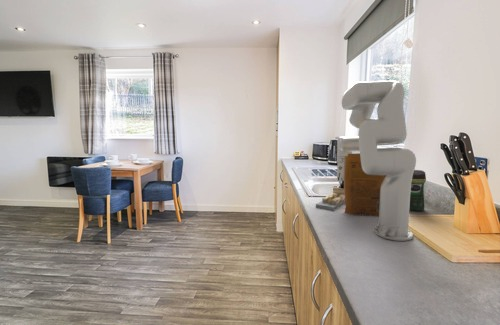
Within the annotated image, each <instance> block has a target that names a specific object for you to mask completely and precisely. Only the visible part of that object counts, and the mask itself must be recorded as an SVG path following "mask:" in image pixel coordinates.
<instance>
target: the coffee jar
mask: <svg viewBox="0 0 500 325" xmlns="http://www.w3.org/2000/svg"><path fill="white" fill-rule="evenodd" d="M426 176H427V175H426V171H424V170H421V169H414V172H413V176H412V182H411V193H410V207H409V211H410V212H411V211H413V212H422V211H424V210H425V193H424V190H425V189H424V187H425V184H426V181H427V178H426Z"/></svg>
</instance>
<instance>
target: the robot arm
mask: <svg viewBox="0 0 500 325" xmlns="http://www.w3.org/2000/svg"><path fill="white" fill-rule="evenodd" d="M404 98H405V88H404V85H403V84H402V82H400V81H398V80H377V81H376V80H375V81H371V80H370V81H357V82H355V83H354V84H353V85H351V86H350V87H349V88H348V89H347V90H345V92H344V93H343V95H342V98H341V107H342V109H343V110H346V111H351V113H350V115H349V116H350V117H349V118H348V119H349V120H348V121H349V123H350V124H351V125H352V126H353V127H355V129H356V128H357V129H358V134H357V135H358V136H339V137H338V138H337V143H336V144H337V145H336V149H337V150H336V152H337V153H336V163H337V166H336V180H337V181H338V184H339V188H344V177H343V175H344V158H345V156H348V154H353V152H359V153H360V158H361V166H362V169H363V171H364V172H365V173H366V174H367V175H386V177H385V178H384V180H383V181H382V183H381V187H380V205H379V216H378V225H376V226H374V227H373V233H374V234H375V235H377V236H378V237H380V238H383V239H386V240H390V241H398V242H405V241H406V242H407V241H410V240H412V239H413V238H414V233H413V232H412V231H411V230H409V220H410V210H409V207H410V193H411V182H412V176H413V172H414V170H416V164H417V158H416V155H415V153H414V152H413V151H412V150H411V149H409V148H405V147H380V148H378V146H391V145H393V146H394V145H400V144H402V143H404V142H405V141H406V139H407V135H408V134H407V125H406V124H407V123H406V118H405V111H404ZM376 104H378V105H377V109H376V114H377V118H371V117H372V115H373V112H374V110H375V108H376Z"/></svg>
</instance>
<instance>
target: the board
mask: <svg viewBox="0 0 500 325" xmlns="http://www.w3.org/2000/svg"><path fill="white" fill-rule="evenodd" d="M332 193H333V192H332ZM333 195H334V198H336V196H337V195H338V194H336V193H333ZM327 196H328V195H327ZM328 198H329V202H327V203H326V202H322V200H321V201H319V202H317V203H316V204H315V207H316V208H318V207H320V208H319V209H323V208H325V209H324V210H328V209H329V210H330V211H335V210H337V209H339V208H340V207H342V206H344V205H345V199H344V200H342V201H341V202H339V203H337V204H331V202H332V198H333V196H328ZM341 205H342V206H341Z"/></svg>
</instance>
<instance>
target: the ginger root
mask: <svg viewBox="0 0 500 325" xmlns="http://www.w3.org/2000/svg"><path fill="white" fill-rule="evenodd" d="M333 193H336V194H338V195H337V196H336V198H334V195H333ZM328 196H333V198H332V202H331V204H337V203H339V202H341V201H342V200H344V199H345V192H344V188H340V187H335V186H334V187H332V192H331V193H330V194H329V195H326V196H325V197H323V198H322V199H321V201H322V202H326V203H327V202H329V198H328Z"/></svg>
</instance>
